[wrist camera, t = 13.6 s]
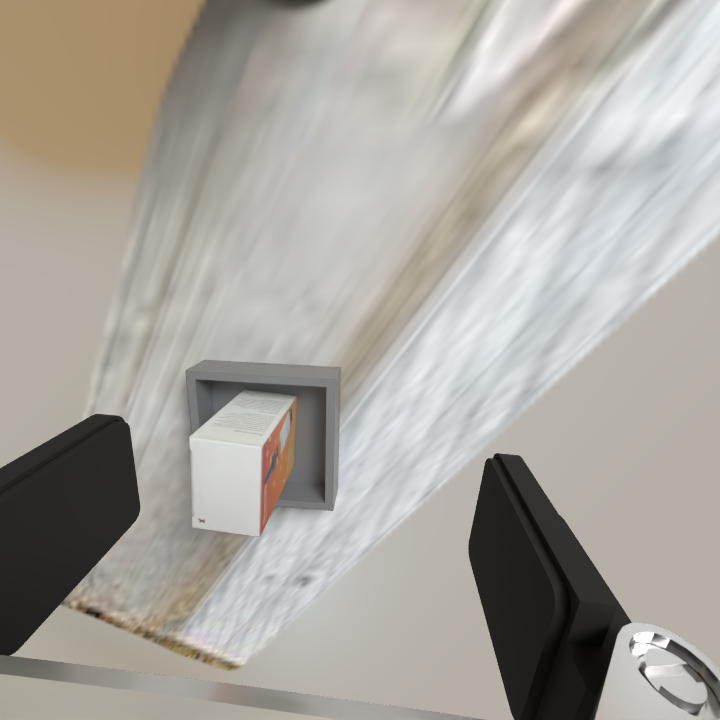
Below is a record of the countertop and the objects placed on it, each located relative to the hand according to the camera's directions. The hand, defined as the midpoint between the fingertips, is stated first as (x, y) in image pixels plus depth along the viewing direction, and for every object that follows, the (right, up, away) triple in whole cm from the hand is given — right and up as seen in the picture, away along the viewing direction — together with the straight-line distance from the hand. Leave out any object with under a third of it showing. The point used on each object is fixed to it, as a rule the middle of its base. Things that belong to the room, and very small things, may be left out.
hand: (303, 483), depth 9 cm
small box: (-8, -4, +27) cm, 29 cm away
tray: (-7, -4, +28) cm, 29 cm away
